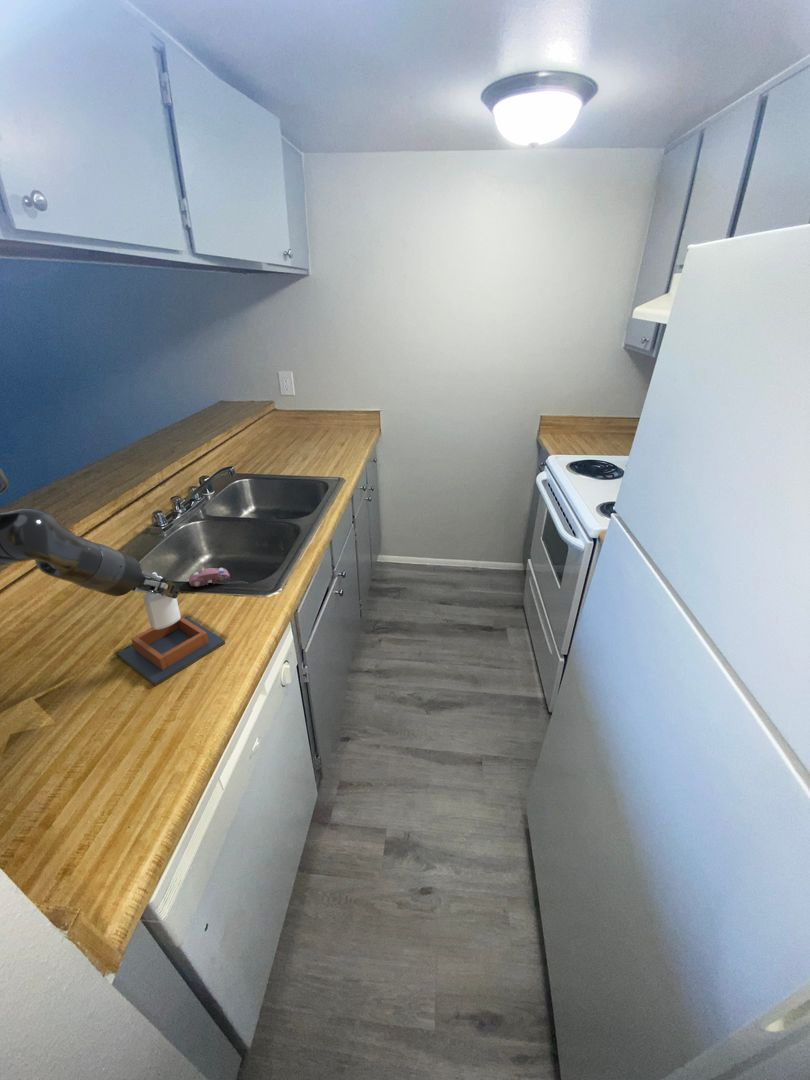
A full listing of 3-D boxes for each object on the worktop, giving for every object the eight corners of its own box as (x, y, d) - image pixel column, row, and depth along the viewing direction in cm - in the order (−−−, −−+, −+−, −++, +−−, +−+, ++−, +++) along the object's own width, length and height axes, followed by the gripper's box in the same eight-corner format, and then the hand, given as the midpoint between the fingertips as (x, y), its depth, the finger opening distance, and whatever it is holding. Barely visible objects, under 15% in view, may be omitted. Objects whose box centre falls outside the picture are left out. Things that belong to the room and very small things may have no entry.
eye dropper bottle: (181, 626, 96) (169, 576, 91) (150, 632, 94) (136, 581, 89) (181, 614, 100) (170, 565, 94) (151, 619, 98) (138, 570, 92)
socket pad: (155, 686, 91) (151, 670, 89) (117, 656, 98) (112, 641, 96) (225, 643, 103) (222, 628, 101) (187, 619, 110) (184, 605, 108)
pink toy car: (191, 596, 121) (187, 581, 116) (189, 581, 123) (185, 566, 118) (231, 588, 125) (230, 574, 119) (229, 574, 127) (227, 559, 122)
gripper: (147, 554, 79) (203, 579, 95) (77, 542, 82) (143, 568, 98) (130, 597, 77) (191, 615, 93) (60, 583, 80) (130, 603, 96)
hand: (166, 591), depth 96 cm, fingers closed on eye dropper bottle, 4 cm apart
